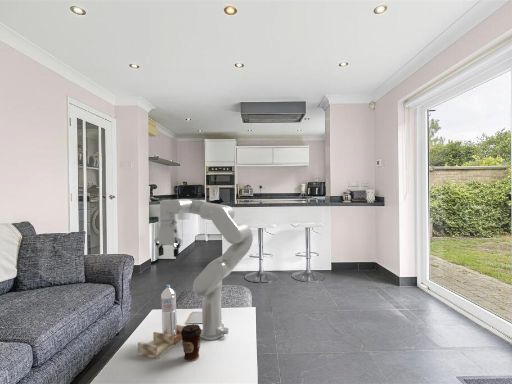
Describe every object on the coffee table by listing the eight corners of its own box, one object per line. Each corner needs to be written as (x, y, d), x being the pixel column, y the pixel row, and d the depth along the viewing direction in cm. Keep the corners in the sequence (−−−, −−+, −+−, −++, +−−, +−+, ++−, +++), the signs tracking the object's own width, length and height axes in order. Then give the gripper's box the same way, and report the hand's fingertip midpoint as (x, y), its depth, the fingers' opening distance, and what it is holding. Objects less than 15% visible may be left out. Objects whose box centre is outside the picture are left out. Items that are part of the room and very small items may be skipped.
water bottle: (180, 334, 141) (178, 283, 141) (171, 341, 135) (169, 288, 135) (168, 332, 144) (166, 282, 144) (159, 339, 137) (157, 286, 137)
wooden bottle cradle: (186, 336, 142) (185, 326, 142) (157, 359, 123) (157, 347, 123) (168, 333, 146) (167, 323, 146) (138, 354, 127) (137, 342, 127)
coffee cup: (191, 365, 118) (190, 333, 118) (177, 360, 122) (176, 329, 122) (205, 355, 125) (205, 325, 125) (191, 350, 129) (191, 321, 129)
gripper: (185, 222, 151) (186, 255, 151) (159, 222, 158) (160, 253, 158) (176, 224, 144) (177, 258, 144) (149, 223, 151) (150, 256, 151)
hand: (168, 255), depth 151 cm, fingers open, 9 cm apart
